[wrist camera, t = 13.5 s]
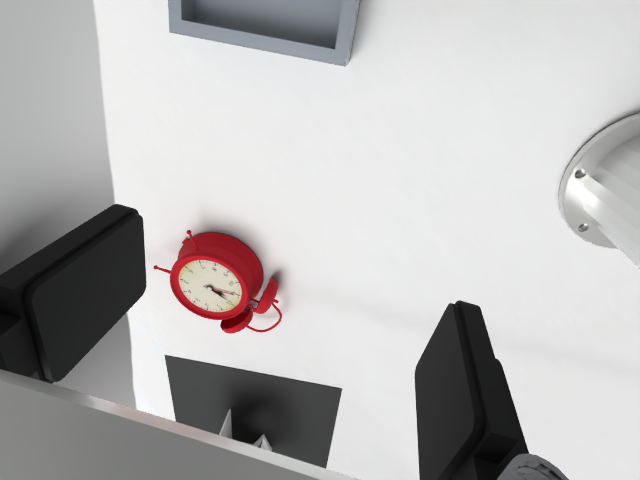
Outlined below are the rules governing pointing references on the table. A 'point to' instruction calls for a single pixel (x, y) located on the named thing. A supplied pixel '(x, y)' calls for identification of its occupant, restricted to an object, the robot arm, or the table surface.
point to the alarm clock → (220, 281)
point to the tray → (272, 25)
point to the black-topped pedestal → (255, 408)
